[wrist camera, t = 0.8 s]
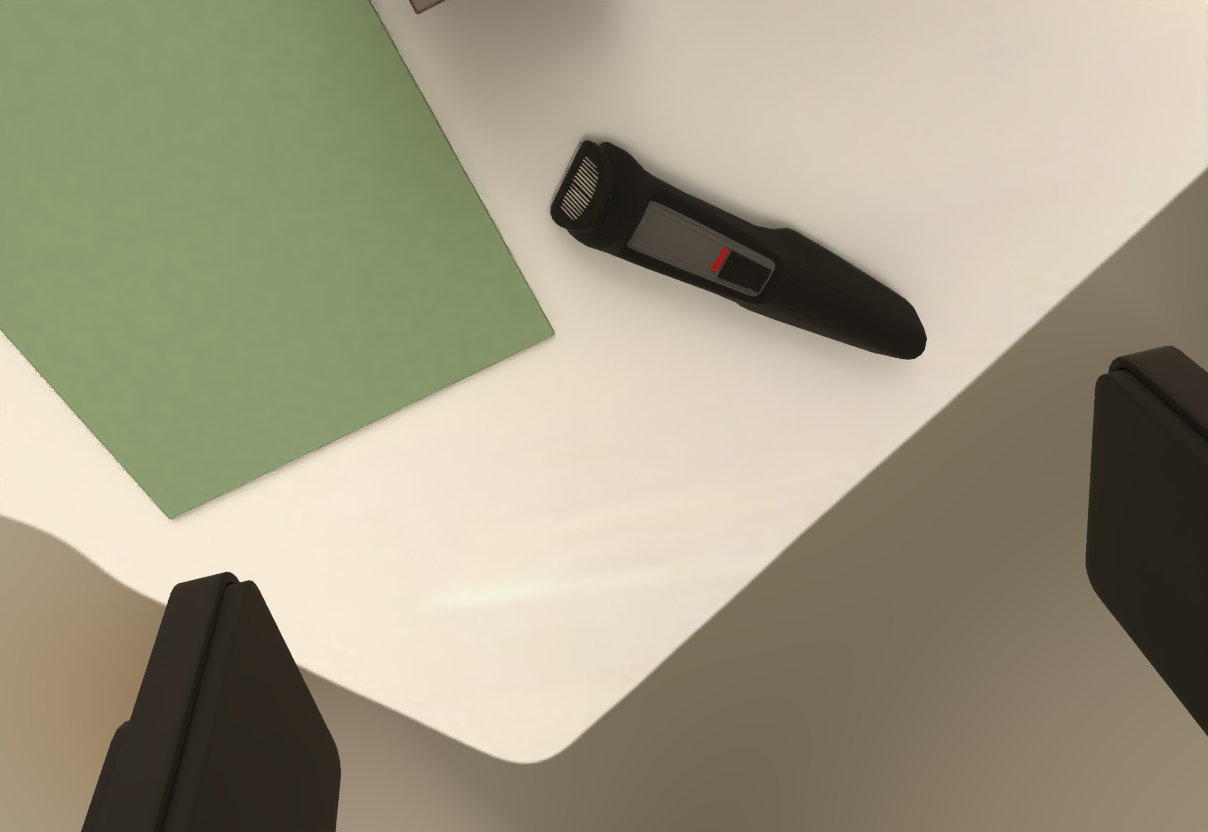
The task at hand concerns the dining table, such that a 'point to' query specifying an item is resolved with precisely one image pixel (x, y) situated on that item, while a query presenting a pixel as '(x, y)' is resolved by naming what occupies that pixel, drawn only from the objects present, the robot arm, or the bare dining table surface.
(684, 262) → the electric trimmer
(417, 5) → the holder
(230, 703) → the robot arm
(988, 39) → the dining table surface
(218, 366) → the mat
